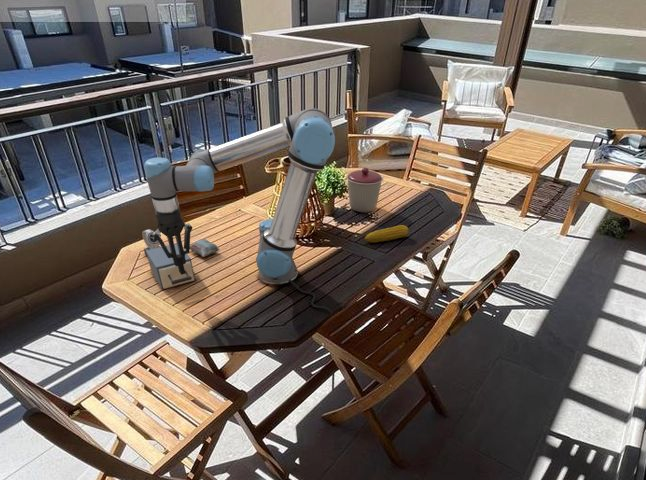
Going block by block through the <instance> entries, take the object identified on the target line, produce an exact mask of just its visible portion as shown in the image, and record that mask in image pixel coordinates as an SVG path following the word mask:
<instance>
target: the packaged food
mask: <svg viewBox="0 0 646 480" xmlns="http://www.w3.org/2000/svg"><path fill="white" fill-rule="evenodd" d="M220 250H221V249H220V248H219V247H218V245H216V243H213V242H211V241H209V240H207V239H206V238H201V239H198V240H196V241H194V242H193V243H191V244H190V252H194V253H196V254H198V255H199V256H200V257H203V258H205V257H208V256H210V255H213V254H215V253H218V252H219V251H220Z"/></svg>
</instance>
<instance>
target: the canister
mask: <svg viewBox="0 0 646 480" xmlns="http://www.w3.org/2000/svg"><path fill="white" fill-rule="evenodd" d="M346 180H347V188H348V201H349V206H350V208H351V209H352V211H354V212H357V213H371V212H373V211H375V209H376V208H377V206H378V201H379V196H380V191H381V187H382V182H383V180H384V177H383V175H382V174H380V173H379V172H376V171H374V170H370V169H369V168H368V167H363V168H361V169H359V170H358V169H357V170H354V171H351V172H349V173H348V174H346Z"/></svg>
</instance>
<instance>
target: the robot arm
mask: <svg viewBox="0 0 646 480" xmlns="http://www.w3.org/2000/svg"><path fill="white" fill-rule="evenodd" d="M335 144H336V136H335V131H334V129H333V124H332V120H331V119H330V117H329V116H328V114H327V113H325V112H324V111H323V110H321V109H319V108H315V107H311V108H306V109H304V110H301V111H298V112H295V113H294V114H291V115H288V116H286V117H284V118H283V119H282V122H280V123H276V124H274V125H270V126H267V127H266V128H263V129H260V130H257V131H255V132H252V133H249V134H246V135H243V136H241V137H237V138H235V139H232V140H229V141H227V142H223V143H222V144H219V145H215V146H212V147H210V148H207V149H203V148H200V149H197V150H196V151H194V152H193V153H192V154H191V155H190V157H189V159H188V161H187V163H186V165H172V164H171V162H170V159H168V158H166V157H153V158H152V157H151V158H149V159H147V160H146V161H144V164H143V167H144V172H145V178H146V182H147V186H148V188H149V193H150V196H151V200H152V204H153V205H152V206H153V209H154V210H155V211H154V213H155V216H156V220H157V229H156V230H155V231H154V232H152V235H153V236H154V238H156V239H157V240H158V242H159V246H160V247H162V249H163V250H164V252H165V254H166V255H167V257H168V258H173V262H174V264H175V266H178V269H179V272H180V274H181V275H182V274H186V273H185V269H184V265H183V264H186V260H185V254H190V252H191V250H190V246H191V233H192V231H193V226H192V225H191V224H190V223H186V222H185V221H184V220H183V216H182V212H181V208H180V202H179V198H178V194H177V192H200V193H203V192H210V191H211V192H212V191H213V189H214V187H215V175H214V174H216V173H219V172H221V171H224V170H226V169H230V168H233V167H236V166H239V165H242V164H245V163H247V162H250V161H253V160H256V159H258V158H262V157H264V156H267V155H270V154H273V153H275V152H279V151H282V150H285V149H288V148H289V149H288V152H287V157H288V160H289V161H290V164H289V166H288V170H287V173H286V175H285V178H284V179H285V180H284V182H283V186H282V189H281V192H280V195H279V198H278V200H277V201H278V202H277V205H276V208H275V211H274V214H273V218H268V219H264V220H262V221H260V222H259V224H258V226H259V227H258V231H259V243H258V248H257V254H256V258H255V262H256V267H257V269H258V279H259V281H260V282H261V283H263V284H265V285H268V286H271V287H282V286H287V285H290V284H291V285H292V286H293V287H295V289H297V290H298V291H299V292H300V293H302V294H305V295H309V296H312V299H311V301H310V306H312V308H315V309H320V310H321V309H322V310H325V311H327V312H328V313H329V314H330V315H332V314H333V312H332V310H331V309H330V308H329V307H326V306H323V305H316V304H314V302H315V301H316V294H315V293H314V292H310V291H305V290H303V289H302V288H301V287H299V286H298V285H297V284H296V283H295V281H296V280H297V279H298V277H299V270H298V267H297V264H296V263H295V260H294V258H293V256H294V253H295V251H296V248H297V245H298V241H297V239H296V234H297V231H298V228H299V225H300V222H301V221H302V217H303V214H304V211H305V208H306V205H307V203H308V200H309V197H310V194H311V191H312V188H313V186H314V182H315V180H316V177H317V174H318V172H321V171H323V170H324V169H325V166H326V164H327V160H328V159H329V158H330V156H331V155H332V153H333V152H334V149H335ZM183 230H184V234H183V236H184V237H183V242H182V236H181V234H182V232H183ZM162 234H163V235H164V236H165V237H166V238H167V242H168V245H169V247H170V251H171V253H169V251H168V249H167V248H166V246H167V245H166V243H164V240H163V238H162ZM174 238H175V241H176V243H177V246H178V250H179V253H180V254H176V250H175V246H174V244H175V241H174ZM335 374H336V373H335V370H333V371H332V373H331V391H335Z"/></svg>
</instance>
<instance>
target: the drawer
mask: <svg viewBox="0 0 646 480" xmlns="http://www.w3.org/2000/svg"><path fill="white" fill-rule="evenodd" d="M191 262H192V261H191ZM191 262H190V261H188V262H186V264H183V265H184V269H185V273H186V274H182V275H181V274H180V272H179V269H178V266H175V265H173V266H169V267H165V268H160V269H159V273H160V277H161V281H162V285H163V288H164V289H163V290H165V288H166V289H169V288H168V287H170V288H173V287H176V286H175V285H177V286H180V285H183V283H184V284H187V283H191V282H194V281H193V280H194V277H195V275H194V276H193V272H194V270H193V271H192V267H193V265H192V266H191ZM190 281H191V282H190ZM186 282H187V283H186ZM179 284H180V285H179ZM172 286H173V287H172Z"/></svg>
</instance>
